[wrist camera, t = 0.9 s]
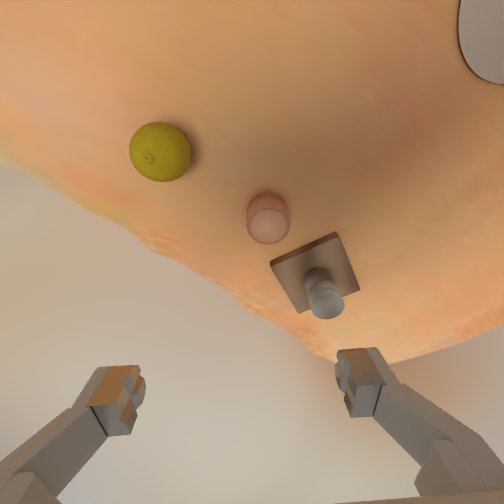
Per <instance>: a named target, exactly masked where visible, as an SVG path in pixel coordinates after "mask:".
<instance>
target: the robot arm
mask: <svg viewBox="0 0 504 504" xmlns="http://www.w3.org/2000/svg"><path fill="white" fill-rule="evenodd" d="M459 39H460V45H461V49H462V52H463V55H464V58H465V60H466V62H467V63H468V65H469V66H470V68H471V69H472V70H473V71H474V72H475V73H476V74H477V75H478V76H480V77H481V78H483V79H485V80H487V81H489V82H492V83H497V84H504V0H461V5H460V12H459ZM336 357H337V359H338V362H337V363H336V364H335V376H336V380H337V384H338V386H339V389H340V390H341V391H342V392H344V393H345V396H344V402H345V404H346V407H347V409H348V412H349V414H350V417H351V418H353V417H373V418H374V419H375V420H376V421H377V422H378V423H379V424H380V425H381V426H382V427H383V428H384V429H385V430H386V431H387V432H388V433H389V434H390V435H391V436H392V437H393V438H394V439H395V440H396V441H397V442H398V443H399V444H400V445H401V446H402V447H403V448H404V449H405V450H406V451H407V452H408V453H409V455H411V457H412V458H414V459H415V461H416V462H417V463H419V465H420V466H421V469H420V471H419V473H418V475H417V477H416V479H415V482H414V484H415V486H416V488H417V490H418V492H419V494H420V496H421V497H412V498H399V499H386V500H374V501H362V502H350V503H338V504H504V464H503V463H502V462H501V461H500V459H499V458H498V457H497V456H496V454H495V453H494V452H493V451H492V449H491V448H490V447H489V446H488V444H487V443H486V442H485V441H484V439H482V437H481V436H480V435H479V434H477V433H476V432H474V431H473V430H471V429H470V428H468V427H467V426H466V425H464V424H463V423H461V422H460V421H458V420H456V419H455V418H454V417H452V416H451V415H449V414H448V413H447V412H445V411H444V410H442V409H441V408H439V407H438V406H436V405H435V404H434V403H432V402H430V401H429V400H428V399H426V398H425V397H423V396H422V395H420V394H419V393H418V392H416V391H415V390H413V389H412V388H410V387H409V386H407V385H406V384H401V383H400V382H399V380H398V379H397V377H396V376H395V374H394V373H393V371H392V370H391V369H390V367H389V365H388V364H387V362H386V361H385V359H384V358H383V356H382V355H381V353H380V352H379V350H378V349H377V348H376V347H372V348H356V349H344V350H338V352H337V356H336ZM140 372H141V369H140V367H139V365H128V366H127V365H126V366H108V367H98V368H97V369H96V370H95V371H94V373H93V374H92V376H91V377H90V379H89V381H88V382H87V384H86V385H85V387H84V388H83V390H82V392H81V393H80V395H79V396H78V398H77V399H76V401H75V403H74V404H73V406H72V407H71V408H69V409H66V410H65V411H64V412H62V413H61V414H60V415H58V416H57V417H56V418H55V419H53V420H52V421H51V422H50V423H48V424H47V425H46V426H45V427H43V428H42V429H41V430H39V431H38V432H37V433H36V434H34V435H33V436H32V437H31V438H30V439H28V440H27V441H26V442H24V443H23V444H22V445H21V446H19V447H18V448H17V449H16V450H14V451H13V452H12V453H10V454H9V455H8V456H7V457H5V458H4V459H3V460H2V461H1V462H0V504H61V503H60V502H59V500H57V498H56V497H57V496H58V495H59V494H60V492H61V491H62V490H63V489H64V488H65V487H66V486H67V484H68V483H69V482H70V481H71V480H72V479H73V477H74V476H75V475H76V474H77V473H78V472H79V470H80V469H81V468H82V467H83V466H84V465H85V464H86V462H87V461H88V460H89V459H90V458H91V457H92V456H93V454H94V453H95V452H96V451H97V449H99V447H100V446H101V445H102V444H103V443H104V442H105V441H106V439H107V437H111V436H120V435H129V434H131V431H132V429H133V426H134V423H135V421H136V418H137V412H136V409H137V408H138V407H139V406H140V405H141V404H142V402H143V399H144V396H145V390H146V385H145V380H144V378H143V377H141V376H140V375H139V374H140Z"/></svg>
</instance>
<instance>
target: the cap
mask: <svg viewBox="0 0 504 504" xmlns="http://www.w3.org/2000/svg"><path fill="white" fill-rule="evenodd" d="M289 229H290V219H289V216H288V213H287V210H286V208H285V205H284V203H283V201H282V200H281V199H280V198H279V197H278V196H276V195H274V194H271V193H264V194H260V195H258V196H256V197H255V198H254V199H253V200H252V201H251V202H250V204H249V206H248V213H247V230H248V233H249V235H250V236H251V237H252V238H253V239H254V240H255V241H257V242H259V243H261V244H274V243H277V242H279V241H281V240H282V239H283V238H284V237H285V236H286V235H287V233H288V231H289Z"/></svg>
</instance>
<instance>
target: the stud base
mask: <svg viewBox="0 0 504 504" xmlns="http://www.w3.org/2000/svg"><path fill="white" fill-rule="evenodd" d="M270 267H271V269H272V270H273V272H274V274H275V275H276V277H277V279H278V280H279V282H280V284H281V285H282V287H283V289H284V290H285V292H286V294H287V295H288V297H289V299H290V300H291V302H292V304H293V305H294V307H295V309H296V310H297V312H298V314H299V313H302V312H304V311H307V310H310V309H312V312H313V314H314V315H315V316H316V317H318V318H321V319H331V318H334V317H336V316H338V315H339V314H340V313H341V312H342V311H343V309H344V305H345V304H344V301H343V299H342V297H344V296H346V295H349V294H351V293H354V292H357V291H359V290H360V287H359V285H358V283H357V280H356V278H355V275H354V273H353V270H352V268H351V265H350V263H349V260H348V258H347V256H346V253H345V251H344V248H343V246H342V243H341V241H340V238H339V236H338V235H337V233H336V232H334V233H332V234H330V235H327V236H325V237H323V238H321V239H318V240H316V241H314V242H312V243H310V244H307V245H305V246H303V247H301V248H299V249H296V250H294V251H292V252H290V253H288V254H285V255H283V256H281V257H279V258H277V259H274V260H272V261H270Z"/></svg>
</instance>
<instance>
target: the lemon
mask: <svg viewBox="0 0 504 504" xmlns="http://www.w3.org/2000/svg"><path fill="white" fill-rule="evenodd" d="M129 153H130V158H131V160H132V163H133V165H134V166H135V168H136V169H137V170H138V171H139V172H140V173H141V174H142V175H143V176H145V177H146V178H148V179H150V180H153V181H157V182H168V181H173V180H175V179H177V178H179V177H181V176H182V175H183V174H184V173H185V172H186V170H187V168H188V167H189V164H190V161H191V150H190V145H189V143H188V141H187V139H186V138H185V136H184V135H183V134H182V133H181V132H180V131H179V130H178V129H177V128H175V127H173V126H172V125H170V124H166V123H162V122H152V123H149V124H146V125H144V126H142V127H141V128H139V129H138V130H137V131H136V132H135V134H134V135H133V137H132V138H131V142H130V145H129Z"/></svg>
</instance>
